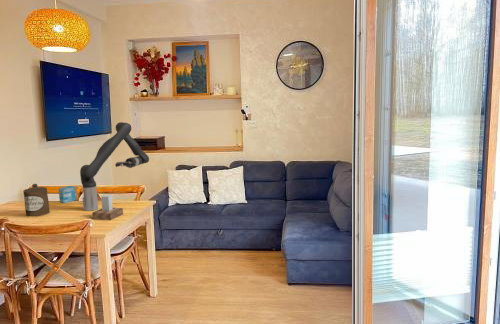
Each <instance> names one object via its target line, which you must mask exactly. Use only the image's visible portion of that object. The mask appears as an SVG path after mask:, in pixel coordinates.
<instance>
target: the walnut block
mask: <svg viewBox="0 0 500 324" xmlns="http://www.w3.org/2000/svg"><path fill="white" fill-rule="evenodd" d="M91 213H92V214H91V215H92V220H100V221H101V220H104V221H113V220H114V219H116V218H119V217H121V216H124V209H123V208H122V207H113V209H112V210H110V211H102V208H100V209H96V210H94V211H93V212H91Z"/></svg>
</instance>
